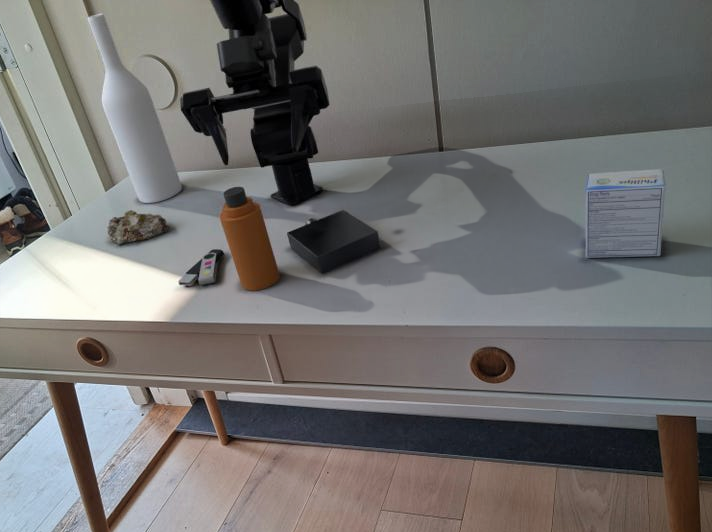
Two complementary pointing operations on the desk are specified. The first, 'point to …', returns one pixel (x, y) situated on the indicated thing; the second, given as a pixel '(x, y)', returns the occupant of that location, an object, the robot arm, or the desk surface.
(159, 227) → the mineral rock
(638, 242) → the medicine box
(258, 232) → the amber bottle
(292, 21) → the robot arm
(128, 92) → the bottle
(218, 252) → the usb flash drive
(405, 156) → the desk surface
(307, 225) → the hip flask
